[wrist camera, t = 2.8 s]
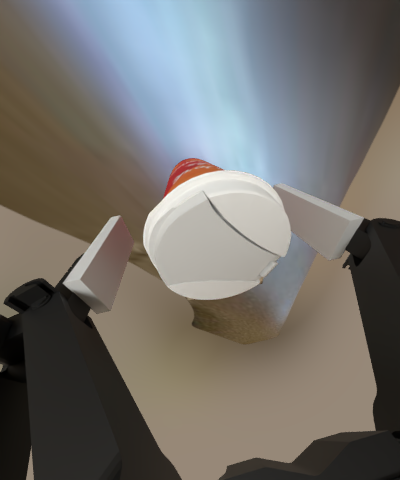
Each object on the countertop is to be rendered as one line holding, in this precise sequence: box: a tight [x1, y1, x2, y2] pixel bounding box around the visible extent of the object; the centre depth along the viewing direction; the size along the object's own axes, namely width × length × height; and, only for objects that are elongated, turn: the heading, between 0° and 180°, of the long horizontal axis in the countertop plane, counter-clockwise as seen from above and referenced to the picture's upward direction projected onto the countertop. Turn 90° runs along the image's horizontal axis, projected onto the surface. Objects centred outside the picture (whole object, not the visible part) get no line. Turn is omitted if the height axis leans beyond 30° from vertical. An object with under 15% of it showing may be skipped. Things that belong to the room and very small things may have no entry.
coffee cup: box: [143, 158, 291, 300], centre depth 14 cm, size 8×8×15 cm
